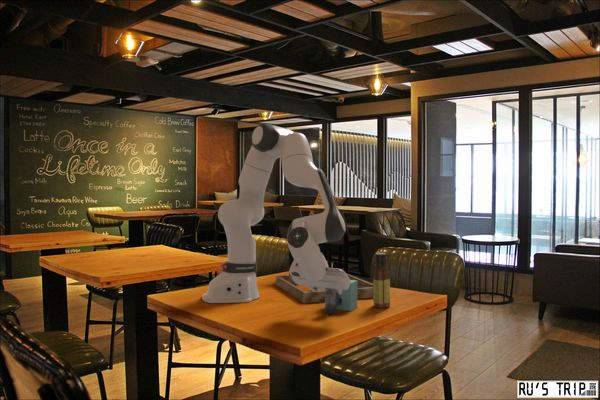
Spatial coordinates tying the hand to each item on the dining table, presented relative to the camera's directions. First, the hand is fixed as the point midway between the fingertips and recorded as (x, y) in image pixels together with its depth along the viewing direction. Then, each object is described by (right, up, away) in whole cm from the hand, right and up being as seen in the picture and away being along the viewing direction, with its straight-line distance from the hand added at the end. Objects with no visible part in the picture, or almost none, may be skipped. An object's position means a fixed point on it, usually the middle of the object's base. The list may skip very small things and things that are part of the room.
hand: (327, 291), depth 166 cm
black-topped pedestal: (0, -8, +37) cm, 38 cm away
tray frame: (+2, -7, +39) cm, 40 cm away
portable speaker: (-11, -7, +60) cm, 62 cm away
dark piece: (+4, -8, +8) cm, 12 cm away
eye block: (+6, -8, +11) cm, 15 cm away
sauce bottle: (+21, -8, +13) cm, 26 cm away
